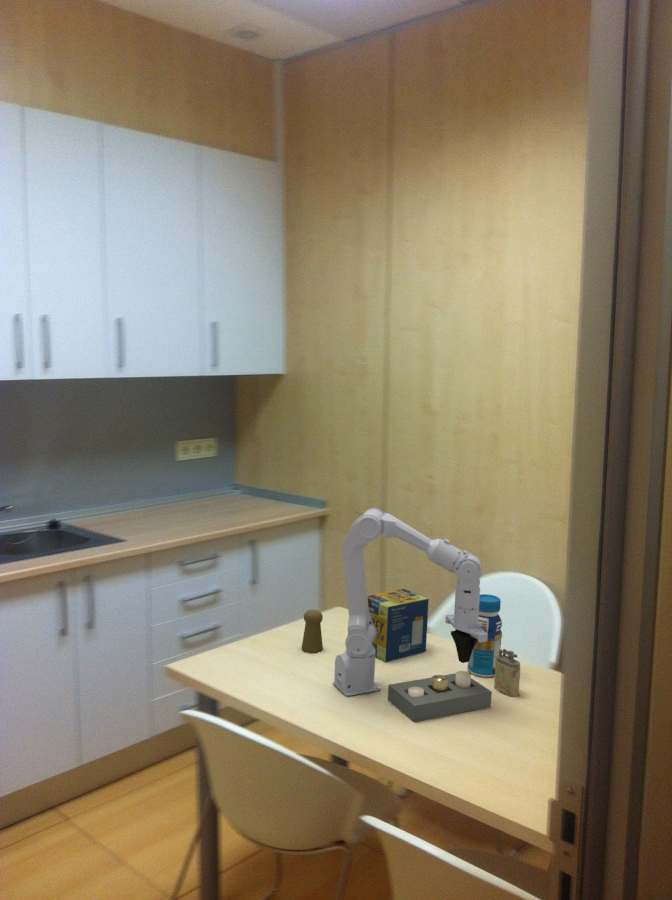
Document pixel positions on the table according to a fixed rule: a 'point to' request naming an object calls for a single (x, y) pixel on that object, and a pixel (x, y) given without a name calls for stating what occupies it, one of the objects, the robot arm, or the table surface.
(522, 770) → the table surface
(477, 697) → the grey slotted block
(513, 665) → the lighter
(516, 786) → the table surface
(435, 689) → the brass knob
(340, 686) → the robot arm
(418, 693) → the near knob
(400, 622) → the protein box
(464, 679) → the far knob
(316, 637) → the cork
